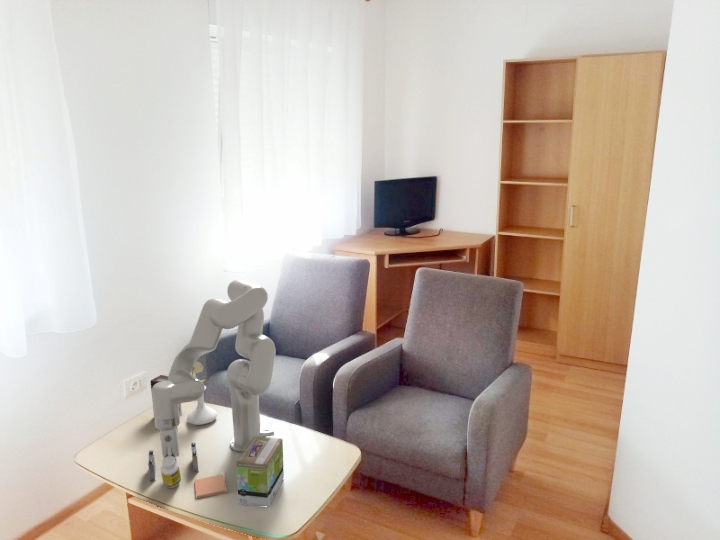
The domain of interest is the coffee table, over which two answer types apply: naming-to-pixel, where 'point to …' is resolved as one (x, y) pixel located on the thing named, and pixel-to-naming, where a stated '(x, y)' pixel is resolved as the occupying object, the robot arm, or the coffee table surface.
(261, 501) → the tea box
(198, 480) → the coaster
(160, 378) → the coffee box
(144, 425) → the coffee table surface
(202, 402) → the flower in vase
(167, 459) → the supplement bottle
